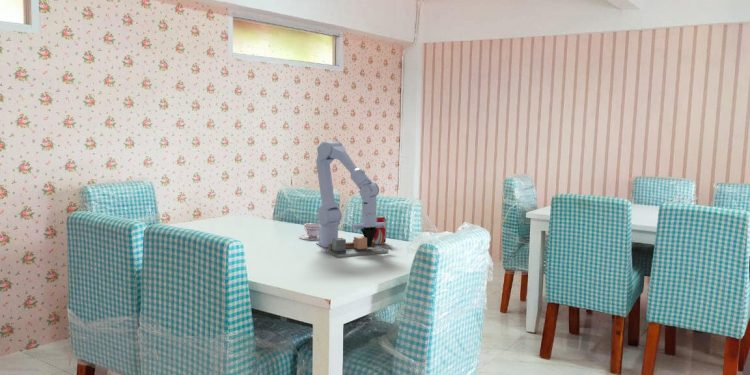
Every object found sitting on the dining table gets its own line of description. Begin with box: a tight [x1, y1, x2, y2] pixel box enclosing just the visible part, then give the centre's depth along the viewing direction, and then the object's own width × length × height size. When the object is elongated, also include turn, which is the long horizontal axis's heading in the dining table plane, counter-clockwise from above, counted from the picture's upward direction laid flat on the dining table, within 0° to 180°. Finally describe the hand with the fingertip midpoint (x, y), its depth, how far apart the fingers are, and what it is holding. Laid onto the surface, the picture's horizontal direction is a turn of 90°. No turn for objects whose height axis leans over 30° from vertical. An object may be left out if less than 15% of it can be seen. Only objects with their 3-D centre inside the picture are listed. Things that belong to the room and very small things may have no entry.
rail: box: [328, 241, 375, 250], centre depth 262 cm, size 2×20×2 cm, turn 117°
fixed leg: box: [332, 237, 347, 253], centre depth 255 cm, size 7×4×5 cm, turn 27°
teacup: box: [298, 222, 320, 241], centre depth 288 cm, size 12×12×6 cm
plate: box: [325, 245, 389, 258], centre depth 258 cm, size 12×22×1 cm, turn 117°
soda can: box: [373, 214, 387, 246], centre depth 276 cm, size 7×7×12 cm
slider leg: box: [352, 235, 367, 251], centre depth 259 cm, size 7×4×5 cm, turn 27°
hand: (368, 245), depth 260 cm, fingers closed
